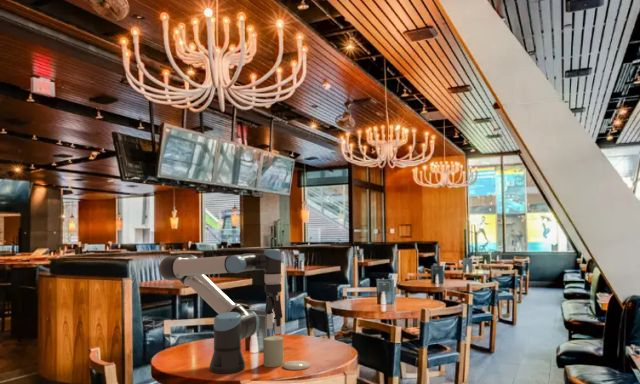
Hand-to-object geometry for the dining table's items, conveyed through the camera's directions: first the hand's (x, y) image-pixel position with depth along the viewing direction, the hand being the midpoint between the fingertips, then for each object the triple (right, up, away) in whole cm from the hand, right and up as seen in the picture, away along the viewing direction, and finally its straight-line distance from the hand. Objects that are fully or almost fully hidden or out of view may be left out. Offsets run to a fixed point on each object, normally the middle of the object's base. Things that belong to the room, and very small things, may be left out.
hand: (273, 331), depth 231 cm
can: (0, -15, -1) cm, 15 cm away
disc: (+11, -14, -5) cm, 18 cm away
